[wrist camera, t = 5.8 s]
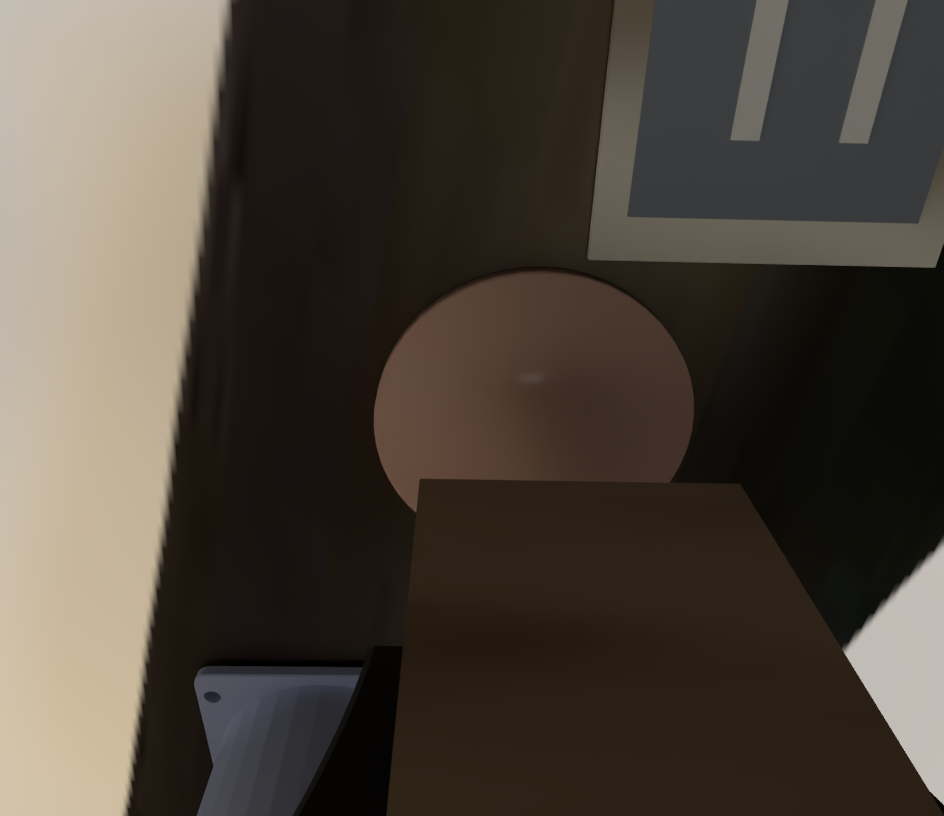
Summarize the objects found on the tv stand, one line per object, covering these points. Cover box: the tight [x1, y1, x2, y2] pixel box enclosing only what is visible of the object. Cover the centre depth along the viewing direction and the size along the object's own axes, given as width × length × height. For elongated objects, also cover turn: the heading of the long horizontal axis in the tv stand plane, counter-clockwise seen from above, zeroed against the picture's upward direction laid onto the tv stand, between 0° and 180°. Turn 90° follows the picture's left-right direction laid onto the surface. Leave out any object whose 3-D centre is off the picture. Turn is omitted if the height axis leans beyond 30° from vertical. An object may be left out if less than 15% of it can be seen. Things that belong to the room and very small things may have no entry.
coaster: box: [374, 267, 694, 512], centre depth 18 cm, size 8×8×1 cm
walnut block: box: [386, 479, 944, 816], centre depth 10 cm, size 5×5×6 cm
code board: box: [587, 0, 944, 267], centre depth 14 cm, size 8×8×1 cm
